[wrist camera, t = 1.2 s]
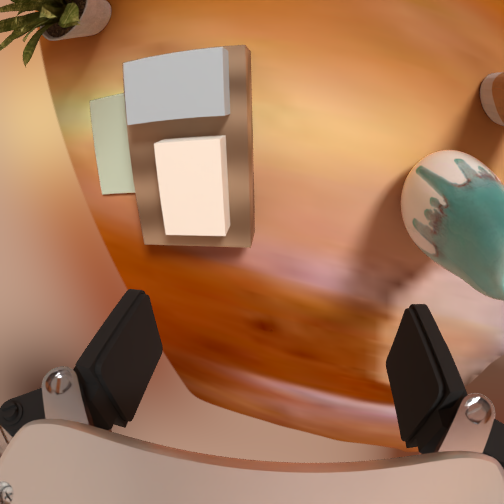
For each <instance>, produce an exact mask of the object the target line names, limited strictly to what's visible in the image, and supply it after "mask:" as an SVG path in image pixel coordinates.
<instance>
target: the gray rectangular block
mask: <svg viewBox="0 0 504 504" xmlns="http://www.w3.org/2000/svg"><path fill="white" fill-rule="evenodd" d="M123 66H124V87H125V102H126V114H127V125H133V124H140V123H147V122H155V121H163V120H173V119H183V118H195V117H209V116H225V115H228V114H230V92H229V60H228V51H227V50H226V49H225V48H223V47H216V48H206V49H198V50H190V51H183V52H176V53H170V54H164V55H159V56H153V57H148V58H144V59H139V60H134V61H130V62H126V63H123Z"/></svg>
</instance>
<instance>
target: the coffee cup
mask: <svg viewBox="0 0 504 504" xmlns="http://www.w3.org/2000/svg"><path fill="white" fill-rule="evenodd" d="M480 99H481V104H482V106H483V109H484V111H485V112H486V114H487V115H488V116H489V118H490V119H491V120H492V121H494V122H495V123H497V124H499V125H502V126H504V72H502V73H492V74H489V75H488V76H487V77H486V78H485V79H484V80H483V82H482V84H481V88H480Z"/></svg>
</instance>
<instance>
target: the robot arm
mask: <svg viewBox="0 0 504 504" xmlns="http://www.w3.org/2000/svg"><path fill="white" fill-rule="evenodd" d="M161 354H162V343H161V339H160V336H159V332H158V329H157V325H156V321H155V317H154V314H153V310H152V306H151V302H150V298H149V296H148V295H146V294H145V292H144V291H143V290H134V289H129V290H128V291H127V292H126V293H125V294H124V296H123V297H122V299H121V300H120V301H119V302H118V304H117V305H116V307H115V308H114V309H113V311H112V312H111V313H110V315H109V316H108V318H107V319H106V320H105V322H104V324H103V325H102V326H101V328H100V329H99V331H98V332H97V333H96V335H95V336H94V338H93V339H92V341H91V342H90V343H89V345H88V346H87V348H86V349H85V351H84V352H83V354H82V356H81V357H80V358H79V360H78V361H77V363H76V366H75V368H74V369H71V368H69V367H64V366H61V367H57V368H54V369H52V370H51V371H49V372H48V373H47V374H46V376H45V377H44V379H43V381H42V388H40V389H37V390H35V391H32V392H29V393H27V394H24V395H21V396H18V397H15V398H12V399H10V400H8V401H6V402H5V403H4V404H3V405H2V406H1V408H0V504H504V424H503V423H501V422H499V421H498V420H496V419H494V417H495V409H494V406H493V404H492V402H491V401H490V400H489V399H488V398H487V397H485V396H484V395H481V394H477V393H472V394H469V395H467V392H466V389H465V387H464V384H463V382H462V379H461V377H460V374H459V372H458V369H457V367H456V365H455V362H454V360H453V358H452V356H451V353H450V351H449V349H448V347H447V344H446V343H445V341H444V339H443V337H442V335H441V333H440V331H439V328H438V326H437V324H436V322H435V320H434V318H433V316H432V314H431V312H430V310H429V308H428V306H427V305H425V304H412V305H410V307H409V308H407V309H405V311H404V314H403V317H402V320H401V323H400V326H399V329H398V331H397V334H396V337H395V339H394V342H393V345H392V347H391V350H390V352H389V355H388V357H387V360H386V369H387V373H388V377H389V382H390V386H391V390H392V395H393V399H394V404H395V409H396V414H397V419H398V424H399V429H400V435H401V439H402V441H405V442H406V447H407V448H411V447H417V446H418V449H419V452H420V453H419V455H414V456H407V457H399V458H391V459H381V460H370V461H358V462H340V463H288V462H287V463H286V462H269V461H256V460H246V459H237V458H229V457H221V456H215V455H208V454H202V453H196V452H190V451H186V450H181V449H176V448H171V447H166V446H162V445H158V444H154V443H150V442H146V441H142V440H139V439H135V438H131V437H128V436H124V435H121V434H117V433H114V432H112V431H111V428H112V426H113V424H115V425H118V426H122V427H126V425H127V422H128V421H132V419H133V417H134V415H135V413H136V410H137V408H138V406H139V404H140V401H141V399H142V397H143V394H144V392H145V390H146V388H147V385H148V383H149V381H150V379H151V376H152V374H153V372H154V370H155V368H156V365H157V363H158V361H159V359H160V357H161Z"/></svg>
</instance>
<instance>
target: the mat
mask: <svg viewBox="0 0 504 504" xmlns="http://www.w3.org/2000/svg"><path fill="white" fill-rule="evenodd" d="M90 111H91V122H92V131H93V139H94V147H95V154H96V161H97V167H98V173H99V179H100V185H101V190H102V194H116V193H135V187H134V180H133V174H132V166H131V159H130V151H129V142H128V133H127V123H126V112H125V99H124V93H122V94H117V95H112V96H108V97H104V98H100V99H95V100H91V101H90Z"/></svg>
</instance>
